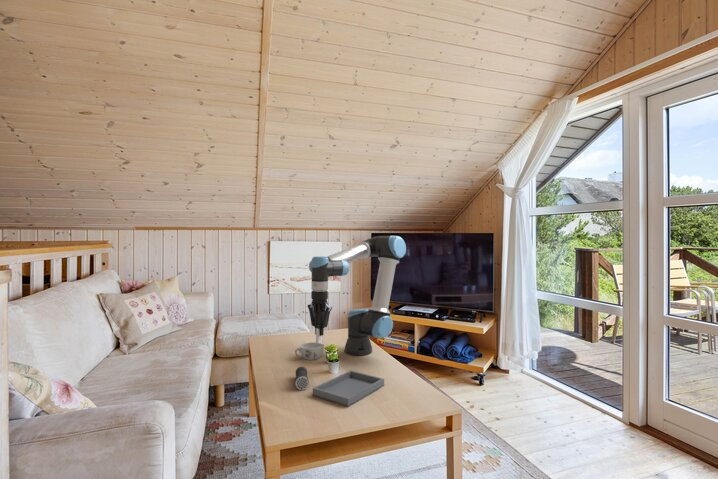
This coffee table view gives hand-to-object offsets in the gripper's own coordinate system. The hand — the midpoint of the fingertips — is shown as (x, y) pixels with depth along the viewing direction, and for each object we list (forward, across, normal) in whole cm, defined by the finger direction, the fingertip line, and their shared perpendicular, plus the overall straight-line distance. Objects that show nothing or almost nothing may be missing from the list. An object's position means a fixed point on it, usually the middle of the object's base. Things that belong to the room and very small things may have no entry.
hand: (319, 342), depth 172 cm
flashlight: (+10, -5, -3) cm, 11 cm away
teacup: (+17, -22, +17) cm, 32 cm away
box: (+16, +20, -3) cm, 26 cm away
